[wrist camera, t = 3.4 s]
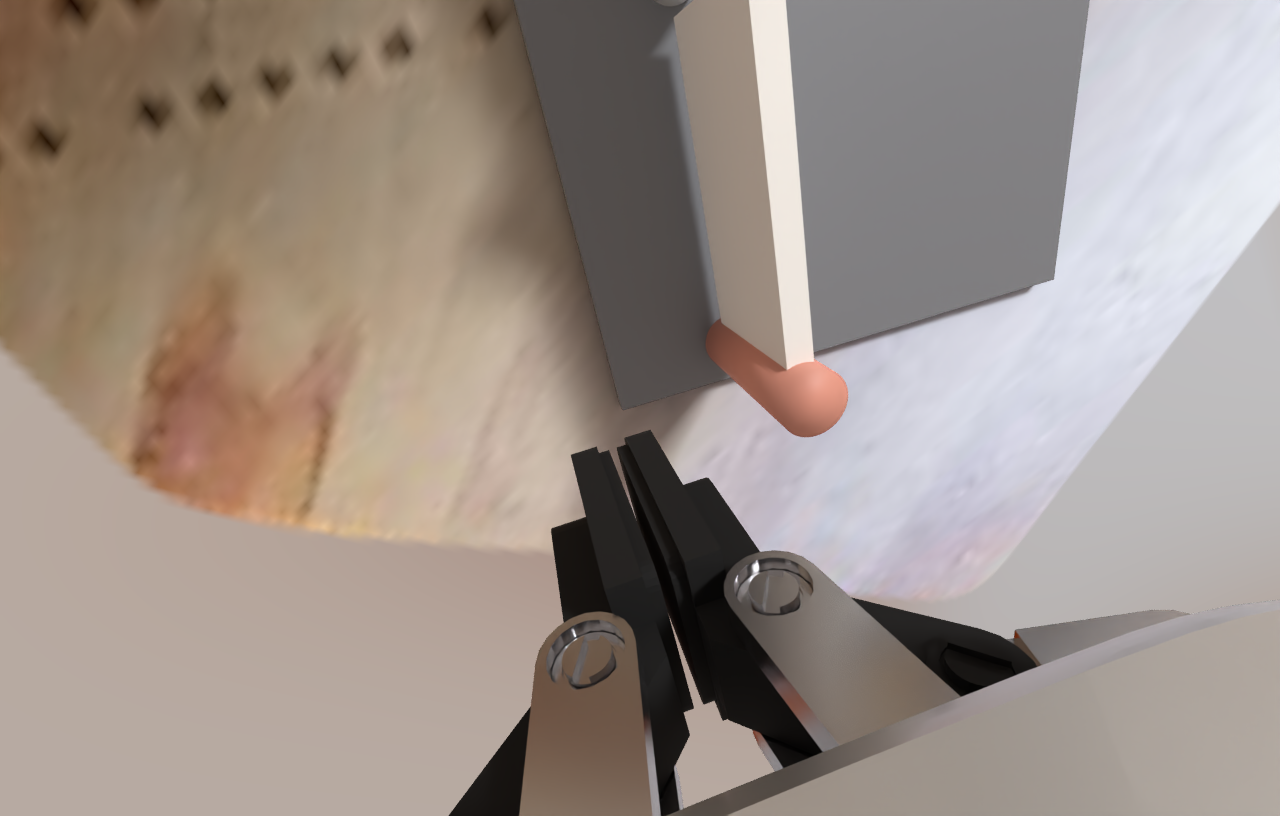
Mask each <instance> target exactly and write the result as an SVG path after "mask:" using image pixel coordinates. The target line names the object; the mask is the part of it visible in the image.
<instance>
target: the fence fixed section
mask: <svg viewBox="0 0 1280 816" xmlns="http://www.w3.org/2000/svg"><path fill="white" fill-rule="evenodd" d="M654 1H656V2H657V3H659V4H661V5H664V6H677V5H680V4H682V3H683V2H685V1H686V0H654Z"/></svg>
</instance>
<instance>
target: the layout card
mask: <svg viewBox="0 0 1280 816" xmlns="http://www.w3.org/2000/svg"><path fill="white" fill-rule="evenodd" d="M513 1H514V5H515V9H516V13H517V16H518V20H519V24H520V28H521V31H522V35H523V39H524V43H525V47H526V50H527V54H528V58H529V62H530V66H531V69H532V73H533V77H534V81H535V85H536V88H537V92H538V96H539V100H540V104H541V107H542V111H543V115H544V119H545V122H546V126H547V130H548V134H549V138H550V141H551V145H552V149H553V153H554V157H555V160H556V164H557V168H558V172H559V176H560V179H561V183H562V187H563V191H564V195H565V198H566V202H567V206H568V210H569V213H570V217H571V221H572V225H573V229H574V232H575V236H576V240H577V244H578V248H579V251H580V255H581V259H582V263H583V267H584V270H585V274H586V278H587V282H588V286H589V289H590V293H591V297H592V301H593V304H594V308H595V312H596V316H597V320H598V323H599V327H600V331H601V335H602V339H603V342H604V346H605V350H606V354H607V358H608V361H609V365H610V369H611V373H612V377H613V380H614V384H615V388H616V392H617V395H618V399H619V403H620V406H621V408H622V410H626V409H629V408H632V407H636V406H639V405H642V404H645V403H649V402H652V401H655V400H659V399H662V398H665V397H669V396H672V395H675V394H678V393H682V392H685V391H688V390H692V389H695V388H698V387H701V386H705V385H708V384H711V383H715V382H718V381H721V380H724V379H728V378H731V377H730V376H729V375H728V374H727V373H726V372H725V371H723V370H722V369H721V368H720V367H719V366H718V365H717V364H716V363H715V362H714V361H713V360H712V359H711V358H710V357H709V355H708V353H707V350H706V337H707V334H708V331H709V329H710V328H711V326H712V325H713V324H714V323H715V322H716V321H717V320H718V319H720V318H721V317H720V311H719V304H718V298H717V291H716V285H715V279H714V272H713V266H712V259H711V253H710V247H709V240H708V234H707V228H706V221H705V215H704V208H703V202H702V196H701V189H700V183H699V176H698V170H697V164H696V157H695V151H694V145H693V138H692V132H691V125H690V119H689V113H688V106H687V100H686V93H685V87H684V81H683V74H682V68H681V62H680V55H679V49H678V42H677V36H676V30H675V23H674V17H675V16H676V15H677V14H678V13H679V12H681V11H682V10H683V9H684V8H685V7H686V6H687V5H688V4H690V3H691V2H692V1H693V0H686V1H685V2H683V3H682V4H680V5H677V6H664V5H661V4H659V3H657V2H656V1H654V0H513ZM1088 8H1089V0H786V9H787V22H788V35H789V47H790V60H791V73H792V86H793V98H794V111H795V124H796V137H797V149H798V162H799V175H800V188H801V200H802V213H803V226H804V239H805V251H806V264H807V277H808V290H809V302H810V315H811V328H812V340H813V352H817V351H820V350H823V349H826V348H830V347H833V346H836V345H840V344H843V343H846V342H849V341H853V340H856V339H859V338H863V337H866V336H869V335H872V334H876V333H879V332H882V331H886V330H889V329H892V328H896V327H899V326H902V325H905V324H909V323H912V322H915V321H919V320H922V319H925V318H928V317H932V316H935V315H938V314H942V313H945V312H948V311H951V310H955V309H958V308H961V307H965V306H968V305H971V304H974V303H978V302H981V301H984V300H988V299H991V298H994V297H997V296H1001V295H1004V294H1007V293H1011V292H1014V291H1017V290H1021V289H1024V288H1027V287H1030V286H1034V285H1037V284H1040V283H1044V282H1047V281H1050V280H1053V279H1054V274H1055V266H1056V258H1057V250H1058V242H1059V235H1060V227H1061V219H1062V211H1063V203H1064V196H1065V188H1066V180H1067V172H1068V164H1069V156H1070V149H1071V141H1072V133H1073V125H1074V117H1075V110H1076V102H1077V94H1078V86H1079V78H1080V71H1081V63H1082V55H1083V47H1084V39H1085V31H1086V24H1087V16H1088Z"/></svg>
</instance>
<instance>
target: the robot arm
mask: <svg viewBox="0 0 1280 816" xmlns="http://www.w3.org/2000/svg"><path fill="white" fill-rule="evenodd" d="M625 443H626V445H624V446H621V447H618V448H617V451H618V455H619V459H620V462H621V466H622V470H623V473H624V477H625V480H626V484H627V487H628V491H629V495H630V498H631V502H632V505H633V509H634V512H635V516H636V518H635V516H634V513H633V510H632V508H631V505H630V503H629V500H628V498H627V495H626V493H625V490H624V488H623V485H622V482H621V480H620V477H619V475H618V472H617V470H616V467H615V465H614V462H613V460H612V457H611V454H610V452H609V450H608V451H605V452H602V453H599V452H598V449H597V447H594V448H591V449H588V450H585V451H582V452H578V453H575V454H572V455H571V458H572V462H573V466H574V470H575V474H576V478H577V482H578V486H579V490H580V494H581V498H582V502H583V506H584V510H585V514H586V517H585V518H582V519H579V520H576V521H573V522H569V523H566V524H563V525H560V526H557V527H554V528H552V529H551V534H552V542H553V549H554V556H555V563H556V570H557V578H558V584H559V592H560V599H561V606H562V613H563V621H564V623H563V624H561V625H560V626H558V627H557V628H556V629H555V630H554V631H553V632H552V633H551V634H550V635H549V636H548V637H547V638H546V640H545V642H544V644H543V645H542V647H541V648H540V650H539V653H538V656H537V660H536V664H535V673H534V682H533V692H532V700H531V707H530V708H529V710H528V711H527V712H526V713H525V715H524V716H523V717H522V719H521V720H520V721H519V723H518V724H517V725H516V727H515V728H514V729H513V731H512V732H511V733H510V735H509V736H508V737H507V739H506V740H505V741H504V743H503V744H502V745H501V747H500V748H499V749H498V751H497V752H496V753H495V755H494V756H493V757H492V759H491V760H490V761H489V763H488V764H487V765H486V767H485V768H484V769H483V771H482V772H481V773H480V775H479V776H478V777H477V779H476V780H475V781H474V783H473V784H472V785H471V787H470V788H469V789H468V791H467V792H466V793H465V795H464V796H463V797H462V799H461V800H460V801H459V803H458V804H457V805H456V807H455V808H454V809H453V811H452V812H451V813H450V815H449V816H1280V600H1272V601H1264V602H1256V603H1248V604H1241V605H1232V606H1227V607H1221V608H1217V609H1212V610H1207V611H1203V612H1198V613H1194V614H1188V613H1184V612H1179V611H1175V610H1149V611H1142V612H1135V613H1128V614H1122V615H1114V616H1108V617H1101V618H1094V619H1087V620H1080V621H1073V622H1066V623H1059V624H1052V625H1046V626H1038V627H1031V628H1024V629H1017V630H1015V633H1014V638H1013V639H1004V638H1003V637H1001V636H999V635H996V634H993V633H990V632H988V631H985V630H982V629H978V628H974V627H970V626H966V625H962V624H958V623H954V622H950V621H946V620H941V619H937V618H933V617H929V616H925V615H921V614H916V613H912V612H908V611H904V610H900V609H896V608H892V607H888V606H884V605H880V604H875V603H871V602H867V601H863V600H859V599H855V598H851V597H850V596H848V595H847V594H846V593H845V592H844V591H843V590H842V589H841V588H840V587H838V586H837V585H836V584H835V583H834V582H833V581H832V580H831V579H830V578H829V577H827V576H826V575H825V574H824V573H823V572H822V571H821V570H820V569H819V568H817V567H816V566H815V565H814V564H813V563H811V562H810V561H808V560H807V559H805V558H804V557H802V556H799V555H796V554H793V553H790V552H784V551H775V550H774V551H765V552H760V551H759V550H758V548H757V547H756V545H755V544H754V542H753V541H752V540H751V538H750V537H749V535H748V534H747V532H746V531H745V529H744V528H743V526H742V525H741V524H740V522H739V521H738V519H737V518H736V516H735V515H734V513H733V512H732V511H731V509H730V508H729V506H728V505H727V503H726V502H725V500H724V499H723V498H722V496H721V495H720V493H719V492H718V490H717V489H716V487H715V486H714V485H713V483H712V482H711V481H710V479H709V478H703V479H700V480H697V481H694V482H691V483H688V484H685V485H683V484H682V482H681V481H680V479H679V477H678V476H677V474H676V472H675V471H674V469H673V467H672V466H671V464H670V462H669V461H668V459H667V457H666V455H665V454H664V452H663V450H662V449H661V447H660V445H659V444H658V442H657V440H656V439H655V437H654V435H653V433H652V432H651V430H648V431H645V432H642V433H639V434H636V435H632V436H629V437H626V438H625ZM636 520H637V521H636ZM668 614H669V615H668ZM669 616H670V619H671V622H672V624H673V627H674V629H675V632H676V635H677V637H678V640H679V642H680V645H681V648H682V650H683V653H684V655H685V658H686V661H687V664H688V666H689V669H690V671H691V674H692V676H693V679H694V681H695V684H696V687H697V690H698V692H699V695H700V697H701V700H702V702H703V704H707V703H709V702H712V701H715V703H716V705H717V708H718V710H719V712H720V715H721V718H722V720H723V721H724V720H726V719H728V720H730V721H733V722H735V723H737V724H740V725H742V726H745V727H747V728H750V729H752V730H753V734H754V737H755V739H756V741H757V743H758V746H759V747H760V749H761V750H762V752H763V754H764V755H765V757H766V758H767V760H768V761H769V763H770V765H771V766H772V768H773V769H774V771H775V772H773V773H771V774H768V775H765V776H763V777H761V778H758V779H756V780H753V781H751V782H748V783H746V784H743V785H741V786H738V787H736V788H733V789H731V790H728V791H726V792H724V793H721V794H719V795H716V796H714V797H711V798H709V799H706V800H704V801H701V802H699V803H696V804H694V805H692V806H689V807H687V808H684V807H683V799H682V792H681V786H680V779H679V775H678V772H677V768H676V765H675V764H676V762H677V760H678V758H679V756H680V754H681V752H682V750H683V748H684V746H685V744H686V742H687V740H688V738H689V736H690V734H689V730H688V727H687V723H686V719H685V716H684V713H683V712H685V711H688V710H691V709H693V708H694V706H693V703H692V699H691V696H690V692H689V688H688V684H687V681H686V677H685V673H684V670H683V666H682V663H681V659H680V655H679V651H678V648H677V644H676V641H675V637H674V633H673V630H672V626H671V622H670V619H669Z"/></svg>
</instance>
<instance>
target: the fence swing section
mask: <svg viewBox="0 0 1280 816" xmlns="http://www.w3.org/2000/svg"><path fill="white" fill-rule="evenodd" d="M674 23H675V30H676V36H677V42H678V49H679V55H680V62H681V68H682V74H683V81H684V87H685V93H686V100H687V106H688V113H689V119H690V125H691V132H692V138H693V145H694V151H695V157H696V164H697V170H698V176H699V183H700V189H701V196H702V202H703V208H704V215H705V221H706V228H707V234H708V240H709V247H710V253H711V259H712V266H713V272H714V279H715V285H716V291H717V298H718V304H719V311H720V317H721V318H720V319H718V320H717V321H716V322H715V323H714V324H713V325H712V326H711V328H710V329H709V331H708V334H707V337H706V350H707V353H708V355H709V357H710V358H711V359H712V360H713V361H714V362H715V363H716V364H717V365H718V366H719V367H720V368H721V369H722V370H723V371H725V372H726V373H727V374H728V375H729V376H730V377H731V378H732V379H733V380H734V381H735V382H736V383H737V384H739V385H740V386H741V387H742V388H743V389H744V390H745V391H746V392H747V393H748V394H749V395H750V396H751V397H753V398H754V399H755V400H756V401H757V402H758V403H759V404H760V405H761V406H762V407H763V408H764V409H765V410H767V411H768V412H769V413H770V414H771V415H772V416H773V417H774V418H775V419H776V420H777V421H778V422H779V423H780V424H782V425H783V426H784V427H785V428H786V429H787V430H788V431H789V432H790V433H792V434H794V435H796V436H800V437H813V436H816V435H819V434H822V433H824V432H826V431H827V430H829V429H830V428H831V427H832V426H834V425H835V424H836V423H837V421H838V420H839V419H840V417H841V416H842V414H843V412H844V410H845V408H846V405H847V401H848V389H847V386H846V383H845V381H844V380H843V378H842V377H841V376H840V375H839V374H837V373H836V372H834V371H833V370H831V369H829V368H828V367H826V366H825V365H823V364H821V363H820V362H818V361H817V360H815V359H814V353H813V340H812V328H811V315H810V302H809V290H808V277H807V264H806V251H805V239H804V226H803V213H802V200H801V188H800V175H799V162H798V149H797V137H796V124H795V111H794V98H793V86H792V73H791V60H790V47H789V35H788V22H787V9H786V0H693V1H692V2H691V3H690V4H688V5H687V6H686V7H685V8H684V9H683V10H682V11H681V12H679V13H678V14H677V15H676V16H675V17H674Z"/></svg>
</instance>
